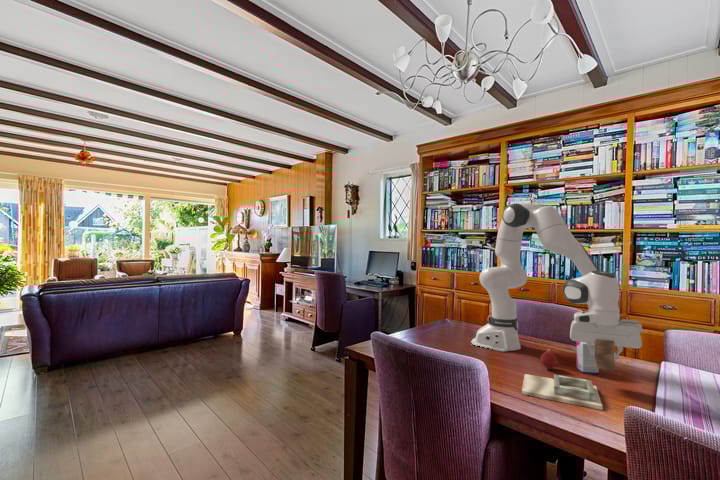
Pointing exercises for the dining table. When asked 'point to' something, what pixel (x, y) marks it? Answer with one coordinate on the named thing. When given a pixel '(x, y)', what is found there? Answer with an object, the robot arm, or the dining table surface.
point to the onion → (549, 359)
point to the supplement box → (585, 358)
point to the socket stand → (563, 390)
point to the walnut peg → (604, 355)
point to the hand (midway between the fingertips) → (604, 356)
